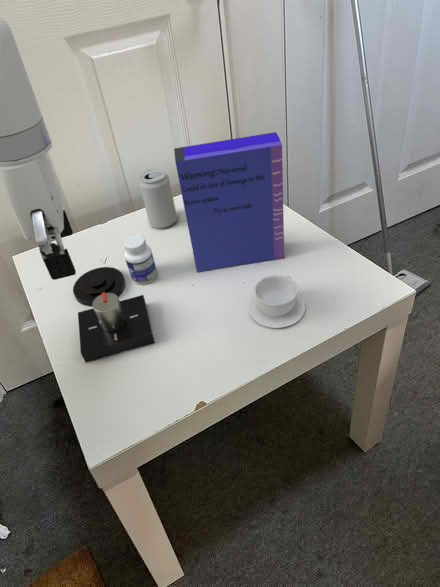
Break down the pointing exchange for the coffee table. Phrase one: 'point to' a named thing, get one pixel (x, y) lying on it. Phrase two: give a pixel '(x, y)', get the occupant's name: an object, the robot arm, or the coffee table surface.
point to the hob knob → (109, 312)
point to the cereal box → (233, 200)
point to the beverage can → (158, 198)
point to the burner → (98, 284)
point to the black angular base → (110, 343)
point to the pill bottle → (139, 260)
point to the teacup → (276, 302)
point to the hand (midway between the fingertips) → (63, 255)
